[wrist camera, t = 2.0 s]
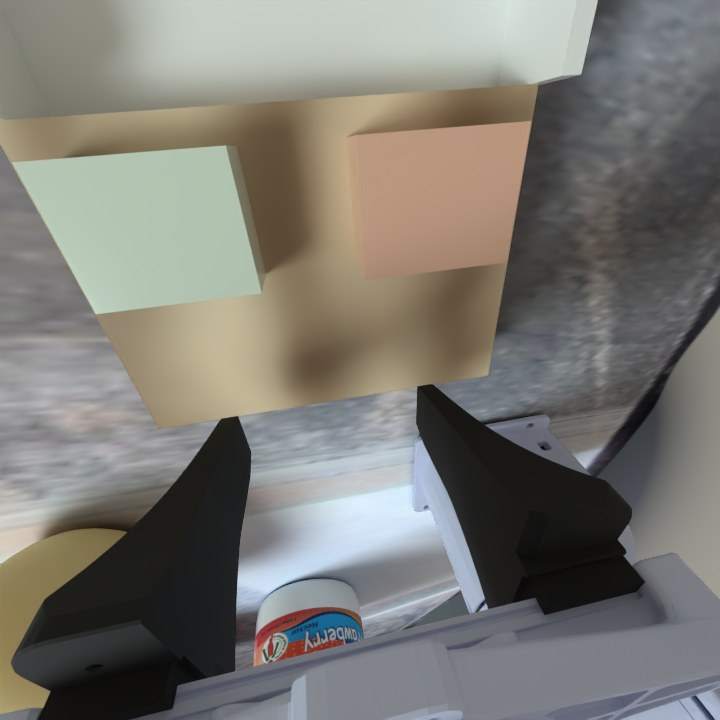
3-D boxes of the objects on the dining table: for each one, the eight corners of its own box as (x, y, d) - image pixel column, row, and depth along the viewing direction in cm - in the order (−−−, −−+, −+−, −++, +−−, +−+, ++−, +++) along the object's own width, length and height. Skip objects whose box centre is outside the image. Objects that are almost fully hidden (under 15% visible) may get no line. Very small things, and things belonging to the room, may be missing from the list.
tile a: (495, 125, 11) (531, 121, 9) (479, 248, 13) (506, 262, 12) (346, 137, 10) (356, 134, 9) (356, 262, 13) (365, 280, 11)
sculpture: (46, 608, 25) (-89, 858, 16) (-28, 511, 19) (-309, 829, 10) (207, 589, 28) (166, 799, 19) (187, 498, 22) (112, 746, 13)
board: (498, 94, 13) (538, 83, 11) (466, 350, 19) (487, 375, 17) (45, 126, 11) (-13, 121, 9) (174, 395, 17) (158, 429, 15)
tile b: (236, 145, 10) (225, 145, 8) (266, 273, 12) (261, 293, 11) (60, 160, 10) (12, 162, 8) (123, 291, 12) (95, 314, 10)
